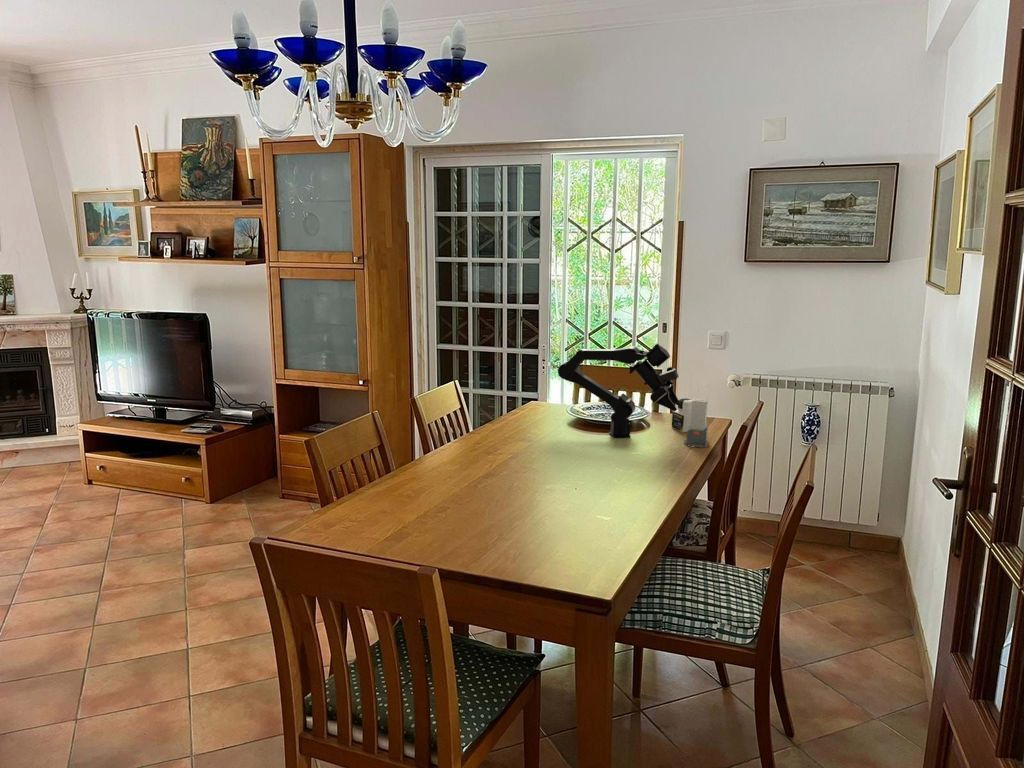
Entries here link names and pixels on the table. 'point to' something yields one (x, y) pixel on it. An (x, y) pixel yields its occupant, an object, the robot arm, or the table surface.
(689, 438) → the base
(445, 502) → the table surface
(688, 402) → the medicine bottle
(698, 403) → the column
